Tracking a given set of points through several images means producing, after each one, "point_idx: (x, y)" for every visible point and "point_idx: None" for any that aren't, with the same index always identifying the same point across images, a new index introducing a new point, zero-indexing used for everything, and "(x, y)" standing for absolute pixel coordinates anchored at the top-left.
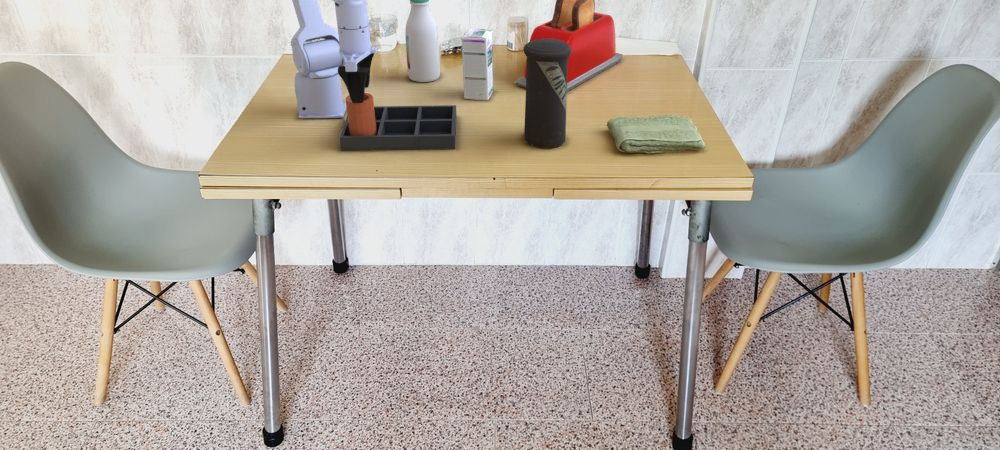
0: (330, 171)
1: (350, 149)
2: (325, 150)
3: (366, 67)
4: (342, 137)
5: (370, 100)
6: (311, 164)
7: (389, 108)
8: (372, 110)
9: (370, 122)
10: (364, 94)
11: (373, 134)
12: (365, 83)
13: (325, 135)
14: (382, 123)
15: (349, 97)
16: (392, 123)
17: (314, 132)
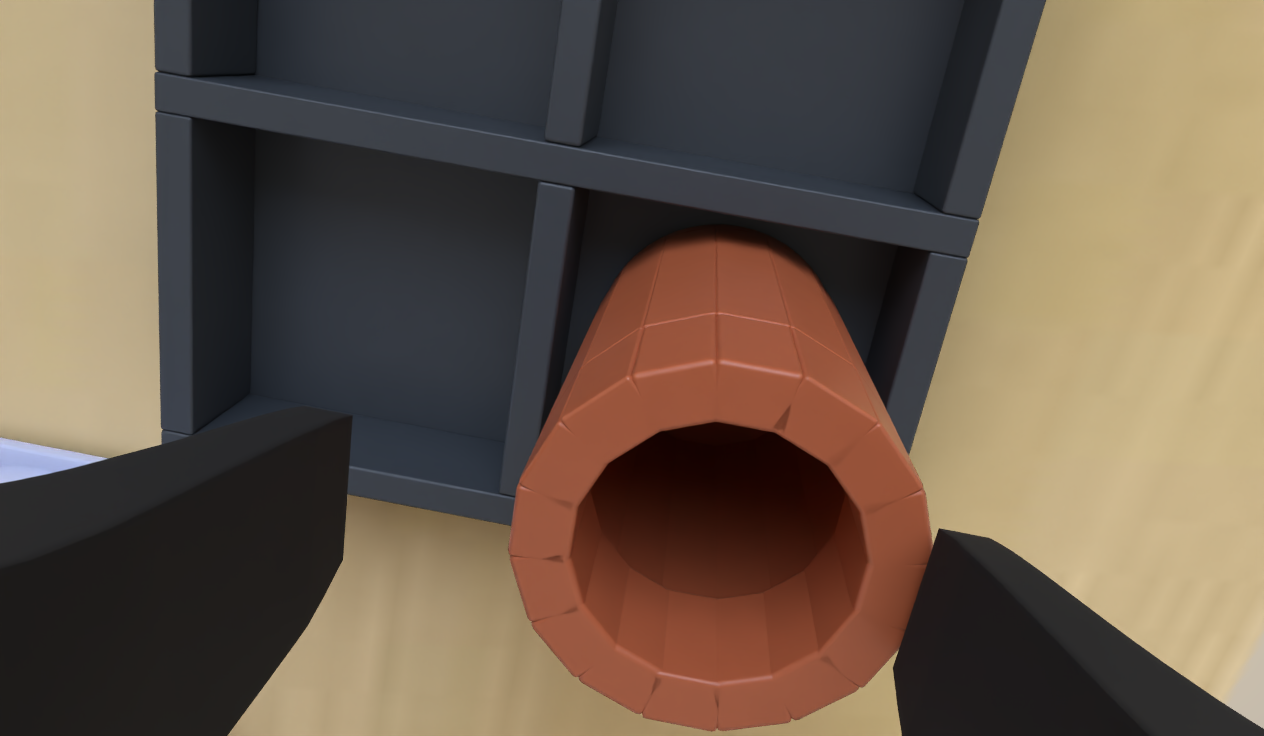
0: (1187, 616)
1: None
2: None
3: (120, 607)
4: None
5: (861, 408)
6: None
7: (196, 54)
8: (819, 336)
9: (843, 334)
10: (990, 570)
11: (812, 275)
12: (317, 477)
13: (522, 614)
14: (631, 169)
15: (676, 683)
16: (598, 50)
17: (454, 681)
